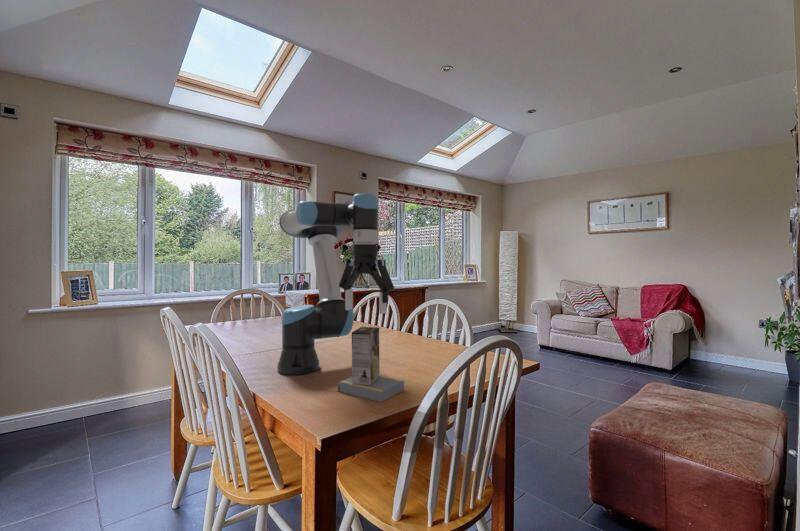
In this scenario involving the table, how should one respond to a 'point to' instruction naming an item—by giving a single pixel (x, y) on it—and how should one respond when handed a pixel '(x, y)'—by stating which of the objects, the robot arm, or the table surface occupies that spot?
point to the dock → (373, 388)
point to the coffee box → (365, 355)
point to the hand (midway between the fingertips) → (365, 311)
